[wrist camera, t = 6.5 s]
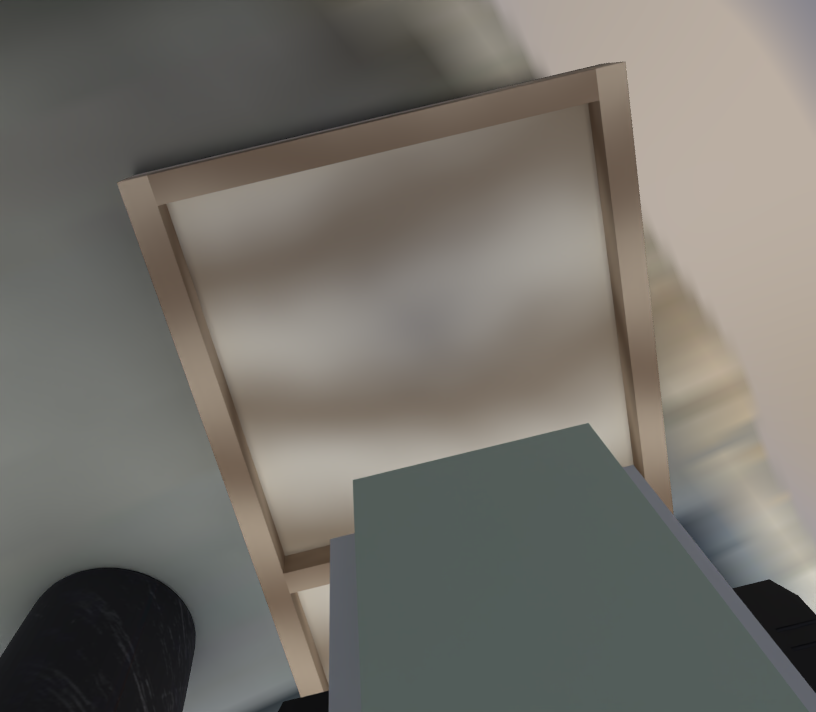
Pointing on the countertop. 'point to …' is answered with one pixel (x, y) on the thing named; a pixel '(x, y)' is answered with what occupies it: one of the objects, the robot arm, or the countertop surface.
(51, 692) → the travel mug
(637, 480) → the robot arm
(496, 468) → the green block
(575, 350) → the two-bay tray
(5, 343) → the countertop surface
